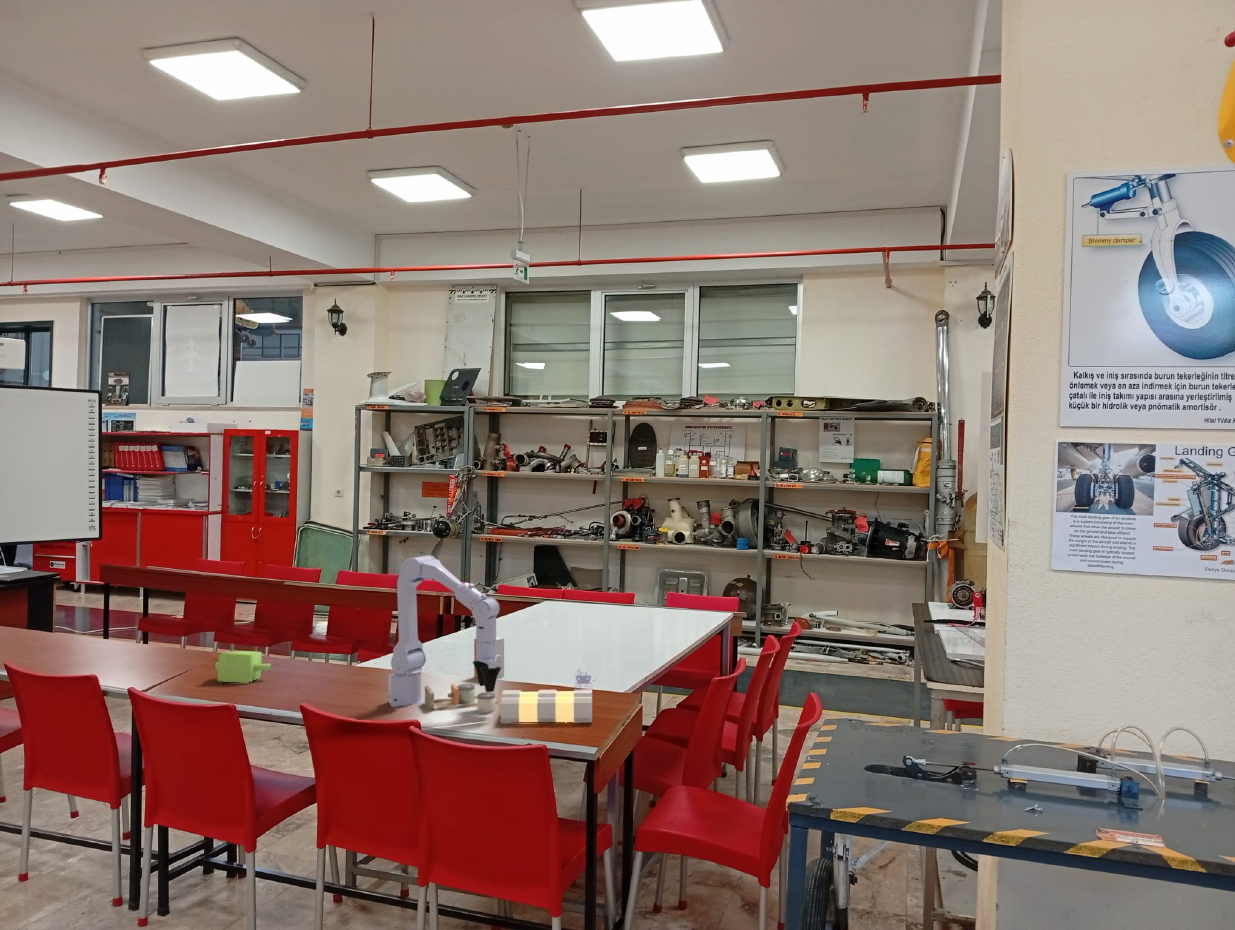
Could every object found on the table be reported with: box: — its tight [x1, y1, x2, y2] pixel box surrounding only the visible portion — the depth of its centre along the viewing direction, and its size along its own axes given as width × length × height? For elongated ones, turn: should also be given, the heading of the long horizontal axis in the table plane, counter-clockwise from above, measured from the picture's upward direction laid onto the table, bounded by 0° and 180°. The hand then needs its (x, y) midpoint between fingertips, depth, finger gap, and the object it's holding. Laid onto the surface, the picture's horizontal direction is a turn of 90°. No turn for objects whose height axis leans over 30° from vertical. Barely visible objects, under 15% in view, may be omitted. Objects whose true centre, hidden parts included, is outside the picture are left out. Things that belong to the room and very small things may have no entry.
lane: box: [424, 685, 500, 713], centre depth 258 cm, size 20×10×6 cm, turn 112°
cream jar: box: [477, 691, 496, 714], centre depth 251 cm, size 5×5×5 cm
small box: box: [473, 636, 505, 680], centre depth 293 cm, size 8×6×13 cm
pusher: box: [447, 683, 459, 705], centre depth 257 cm, size 2×7×5 cm, turn 22°
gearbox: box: [214, 650, 272, 684], centre depth 290 cm, size 18×10×10 cm, turn 84°
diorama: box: [500, 669, 593, 724], centre depth 244 cm, size 25×10×13 cm, turn 91°
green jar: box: [457, 683, 476, 704], centre depth 259 cm, size 5×5×5 cm
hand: (486, 688), depth 251 cm, fingers open, 7 cm apart
